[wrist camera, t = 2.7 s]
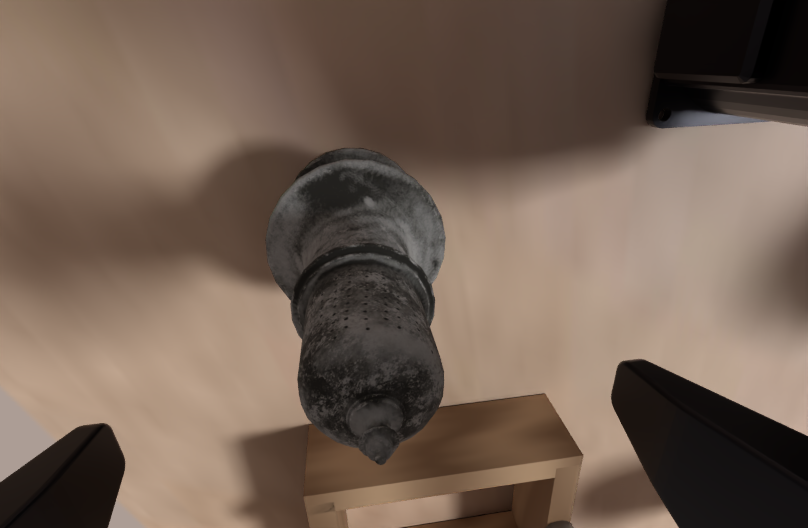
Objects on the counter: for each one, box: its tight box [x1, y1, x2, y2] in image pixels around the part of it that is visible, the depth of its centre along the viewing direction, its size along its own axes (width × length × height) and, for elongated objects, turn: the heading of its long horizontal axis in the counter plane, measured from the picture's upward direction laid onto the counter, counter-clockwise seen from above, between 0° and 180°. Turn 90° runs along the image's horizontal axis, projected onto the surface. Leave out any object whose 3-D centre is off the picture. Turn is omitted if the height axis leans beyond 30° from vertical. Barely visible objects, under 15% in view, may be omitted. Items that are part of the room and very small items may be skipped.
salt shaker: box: [265, 148, 445, 465], centre depth 12 cm, size 6×6×12 cm
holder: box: [303, 394, 583, 528], centre depth 23 cm, size 13×10×5 cm
